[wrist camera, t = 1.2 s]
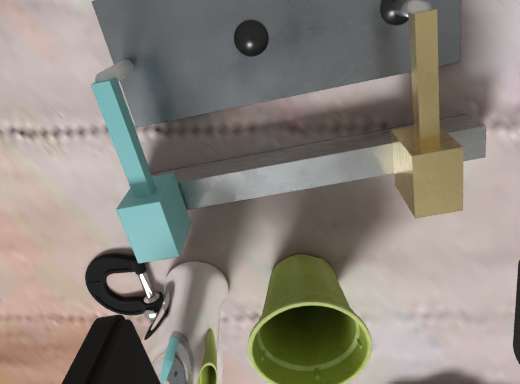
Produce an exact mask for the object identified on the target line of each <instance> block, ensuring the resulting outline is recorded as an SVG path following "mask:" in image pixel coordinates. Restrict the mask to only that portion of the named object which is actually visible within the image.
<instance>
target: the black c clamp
mask: <svg viewBox="0 0 520 384" xmlns="http://www.w3.org/2000/svg"><path fill="white" fill-rule="evenodd" d="M125 272H135V273H136V274H137V275H138V277H139V279H140V282H141V284H142V287H143V289H144V292H145V294H146V295H145V296H144V297H122V296H119V295H116V294H115V293H113V292H112V291H111V290H110V289H109V288H108V286H107V283H106V278H107V276H108V275H110V274H113V273H125ZM85 280H86V285H87V288H88V290H89V292H90V293H91V295H92V296H93V297H94V299H95V300H96V301H97V302H99V303H100V304H101V305H102V306H104V307H105V308H107V309H109V310H111V311H113V312H116V313H119V314H123V315H139V314H143V313H144V316H145V317H146V318H147V319H149V320H150V324H151V323H152V322H153V320H154V319H155V317H156V315H157V314H158V312H159V310H160V308H161V306H162V303H163V299H164V298H163V295H162V293H161V292H159V293H154V290H153V288H152V285H151V283H150V280H149V277H148V275H147V272H146V267H145V264H144V263H138V261H137V259H136V257H135V256H133V257H131V256H126V255H120V254H106V255H102V256H100V257H98V258H96V259H95V260H94V261H93V262H92V263H91V264H90V265H89V267H88V268H87V271H86V275H85Z"/></svg>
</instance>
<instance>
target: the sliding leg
mask: <svg viewBox="0 0 520 384" xmlns="http://www.w3.org/2000/svg"><path fill="white" fill-rule="evenodd" d="M133 70H134V65H133V63H132V62H131V61H130V60H127V59H125V60H122V61H120V62H118V63H117V64H115V65H113V66H111V67H109V68H107V69H105V70H104V71H102V72H100V73H98V74H97V75H96V78H95V80H96V82H95V83H93V84H91V87H92V89H93V92H94V94H95V97H96V100H97V102H98V105H99V107H100V110H101V112H102V115H103V118H104V120H105V123H106V125H107V128H108V130H109V133H110V136H111V138H112V141H113V143H114V146H115V149H116V151H117V154H118V156H119V159H120V161H121V164H122V167H123V169H124V172H125V174H126V177H127V179H128V182H129V185H130V187H131V188H130V190H129V191H128V193H127V194H126V196H125V197H124V199H123V200H122V201H121V203H120V204H119V206H118V207H117V209H116V211H117V213H118V216H119V218H120V221H121V223H122V225H123V228H124V230H125V233H126V235H127V237H128V240H129V242H130V245H131V247H132V249H133V252H134V254H135V257H136V259H137V261H138V263H144V262H150V261H157V260H163V259H169V258H175V257H179V256H180V253H181V250H182V247H183V244H184V241H185V238H186V235H187V232H188V229H189V226H190V223H191V222H190V219H189V216H188V213H187V210H186V207H185V204H184V201H183V198H182V195H181V192H180V189H179V186H178V183H177V179H176V176H175V173H170V174H164V175H159V176H154V177H152V175H151V172H150V170H149V167H148V164H147V161H146V158H145V156H144V153H143V150H142V147H141V144H140V142H139V139H138V136H137V133H136V130H135V128H134V125H133V122H132V119H131V116H130V114H129V111H128V108H127V105H126V103H125V100H124V97H123V94H122V91H121V89H120V86H119V83H118V81H120V80H121V79H123V78H124V77H126V76H127V75H129V74H130V73H132V72H133Z"/></svg>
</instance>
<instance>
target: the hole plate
mask: <svg viewBox="0 0 520 384" xmlns="http://www.w3.org/2000/svg"><path fill="white" fill-rule="evenodd" d="M394 1H395V0H95V1H92V4H93V7H94V10H95V12H96V15H97V18H98V21H99V24H100V26H101V29H102V32H103V35H104V38H105V40H106V43H107V46H108V49H109V52H110V55H111V57H112V60H113V63H114V65H115V64H117V63H118V62H120V61H122V60H125V59H127V60H130V61H131V62H132V63H133V65H134V70H133V72H132V73H130V74H129V75H127V76H126V77H124V78H123V79H121V80H120V83H121V85H122V88H123V91H124V94H125V97H126V100H127V102H128V105H129V108H130V111H131V114H132V116H133V119H134V122H135V125H136V128H137V127H142V126H147V125H152V124H157V123H161V122H166V121H171V120H176V119H181V118H186V117H191V116H196V115H201V114H206V113H211V112H216V111H221V110H226V109H230V108H235V107H240V106H245V105H250V104H255V103H260V102H265V101H270V100H275V99H280V98H285V97H290V96H295V95H300V94H304V93H309V92H314V91H319V90H324V89H329V88H334V87H339V86H344V85H349V84H354V83H359V82H364V81H369V80H373V79H378V78H383V77H388V76H393V75H398V74H403V73H408V72H411V59H410V38H409V18H408V17H405V16H401V15H397V14H395V13H394V12H393V10H392V5H393V2H394ZM419 1H426V2H428V3H429V4H430V5H431V8H433V9H437V26H438V66H442V65H447V64H452V63H457V62H460V0H419Z"/></svg>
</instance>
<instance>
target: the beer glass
mask: <svg viewBox="0 0 520 384" xmlns="http://www.w3.org/2000/svg"><path fill="white" fill-rule="evenodd" d="M228 291H229V287H228V282H227V279H226V278H225V276H224V275H223V273H222V272H221V271H220V270H218V269H217V268H216V267H214V266H212V265H210V264H208V263H204V262H199V261H190V262H185V263H182V264H179V265H177V266H176V267H174V268H173V269H172V270H171V271H170V272H169V274H168V275H167V277H166V281H165V290H164V299H163V303H162V306H161V308H160V310H159V312H158V314H157V315H156V317H155V319H154V320H153V322H152V323H151V325H150V327H149V328H148V330H147V331H146V333H145V335H144V336H143V338H142V340H141V342H142V344H143V347H144V349H145V351H146V353H147V355H148V357H149V359H150V361H151V364H152V366H153V368H154V370H155V372H156V374H157V376H158V378H159V381H160V383H161V384H222V377H223V354H222V341H221V330H220V316H221V312H222V309H223V306H224V304H225V302H226V299H227V296H228Z"/></svg>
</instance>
